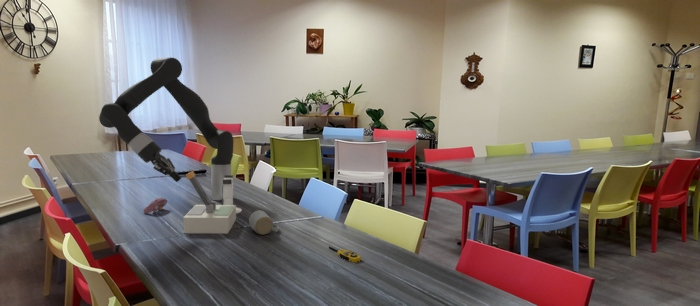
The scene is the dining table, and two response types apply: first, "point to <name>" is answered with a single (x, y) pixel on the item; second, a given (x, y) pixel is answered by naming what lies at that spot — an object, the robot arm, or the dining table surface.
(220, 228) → the switch box
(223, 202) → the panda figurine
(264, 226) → the ceramic mug
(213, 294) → the dining table surface
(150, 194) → the dining table surface
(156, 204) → the video game controller
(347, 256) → the yellow walkie-talkie
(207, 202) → the lever
